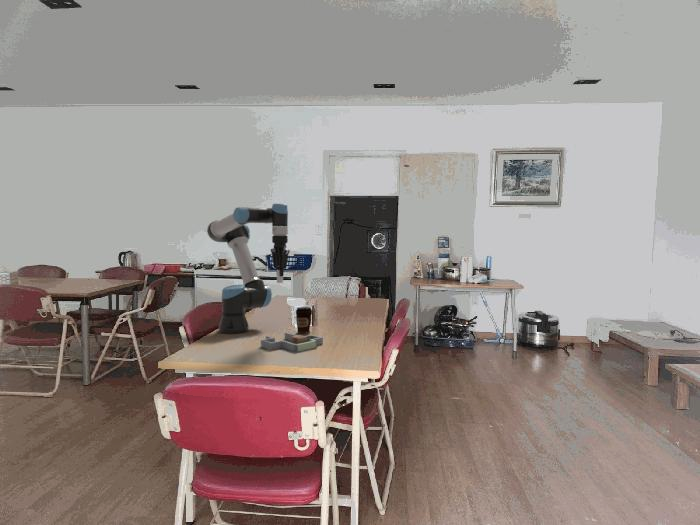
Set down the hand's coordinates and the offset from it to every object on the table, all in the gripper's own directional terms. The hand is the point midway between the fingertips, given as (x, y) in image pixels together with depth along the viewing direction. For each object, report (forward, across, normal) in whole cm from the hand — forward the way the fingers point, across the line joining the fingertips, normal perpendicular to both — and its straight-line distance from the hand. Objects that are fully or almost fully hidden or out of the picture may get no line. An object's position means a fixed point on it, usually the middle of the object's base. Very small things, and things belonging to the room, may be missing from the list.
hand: (280, 282), depth 237 cm
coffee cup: (+27, +4, +12) cm, 29 cm away
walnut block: (+27, +26, -8) cm, 38 cm away
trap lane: (+26, +19, -8) cm, 34 cm away
